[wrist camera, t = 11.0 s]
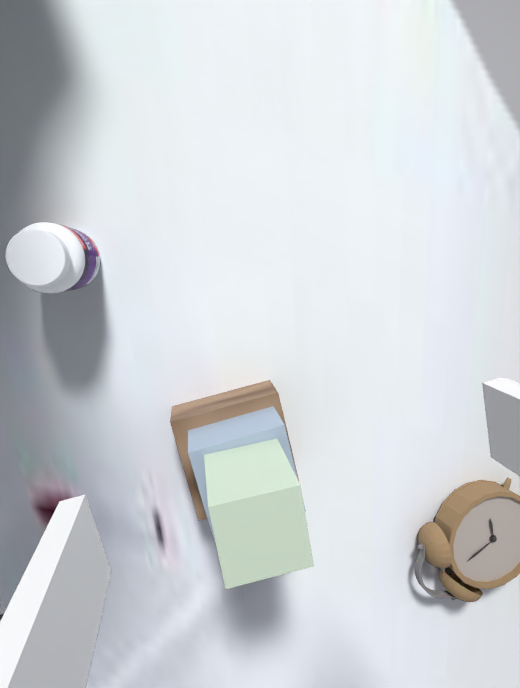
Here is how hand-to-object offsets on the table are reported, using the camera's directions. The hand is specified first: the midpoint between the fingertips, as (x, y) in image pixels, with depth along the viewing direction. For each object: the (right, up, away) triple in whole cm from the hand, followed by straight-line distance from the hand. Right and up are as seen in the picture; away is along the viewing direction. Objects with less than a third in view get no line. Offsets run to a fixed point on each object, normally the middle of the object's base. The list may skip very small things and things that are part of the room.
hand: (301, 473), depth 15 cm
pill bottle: (-19, +12, +27) cm, 35 cm away
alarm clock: (+22, -18, +39) cm, 48 cm away
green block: (-2, -7, +23) cm, 24 cm away
